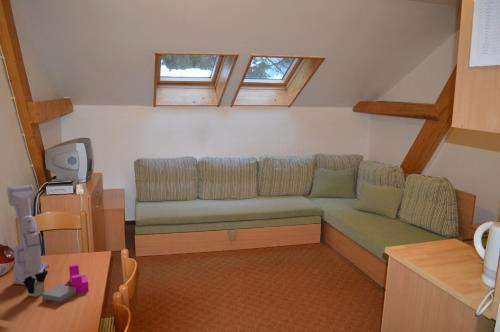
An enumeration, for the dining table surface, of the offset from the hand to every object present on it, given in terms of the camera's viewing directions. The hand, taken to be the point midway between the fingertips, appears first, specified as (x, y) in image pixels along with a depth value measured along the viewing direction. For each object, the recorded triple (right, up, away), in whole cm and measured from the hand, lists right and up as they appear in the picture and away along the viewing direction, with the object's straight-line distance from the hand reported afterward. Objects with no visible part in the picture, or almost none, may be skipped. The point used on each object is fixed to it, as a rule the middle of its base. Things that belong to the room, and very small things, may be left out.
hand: (35, 290), depth 170 cm
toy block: (+15, -1, +9) cm, 17 cm away
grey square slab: (+12, -3, -3) cm, 12 cm away
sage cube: (0, -2, 0) cm, 2 cm away
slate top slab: (+11, -1, -3) cm, 12 cm away
